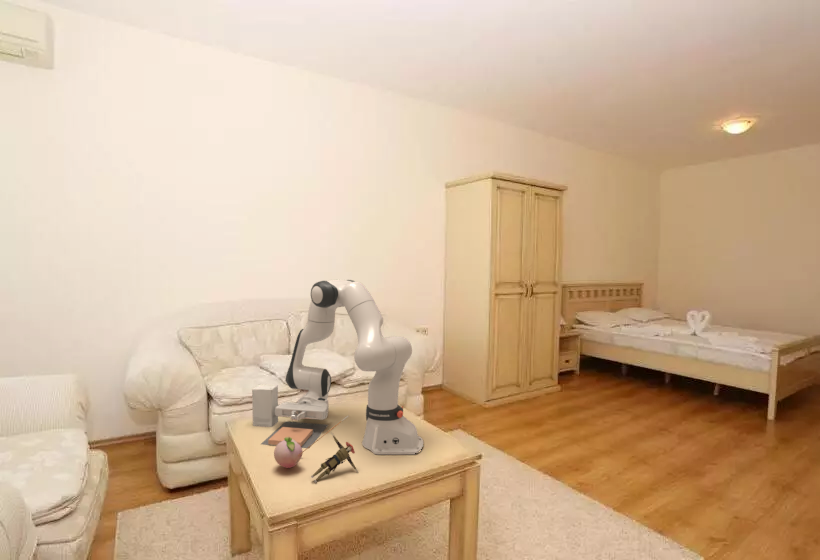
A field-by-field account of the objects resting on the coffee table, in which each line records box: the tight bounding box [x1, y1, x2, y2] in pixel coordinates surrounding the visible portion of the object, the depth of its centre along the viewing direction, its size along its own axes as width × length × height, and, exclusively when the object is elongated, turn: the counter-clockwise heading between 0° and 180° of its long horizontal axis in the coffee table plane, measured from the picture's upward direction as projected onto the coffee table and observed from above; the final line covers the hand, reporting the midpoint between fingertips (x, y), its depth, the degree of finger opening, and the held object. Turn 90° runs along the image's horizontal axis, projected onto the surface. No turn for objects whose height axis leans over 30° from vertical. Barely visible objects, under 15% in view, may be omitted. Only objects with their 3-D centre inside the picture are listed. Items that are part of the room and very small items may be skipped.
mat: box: [260, 421, 329, 449], centre depth 160 cm, size 18×22×1 cm
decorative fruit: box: [273, 437, 304, 469], centre depth 134 cm, size 9×8×10 cm
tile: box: [268, 427, 313, 447], centre depth 154 cm, size 12×2×12 cm
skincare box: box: [251, 384, 279, 428], centre depth 168 cm, size 8×7×16 cm
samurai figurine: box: [298, 415, 359, 484], centre depth 133 cm, size 16×10×20 cm
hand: (294, 418), depth 157 cm, fingers closed
